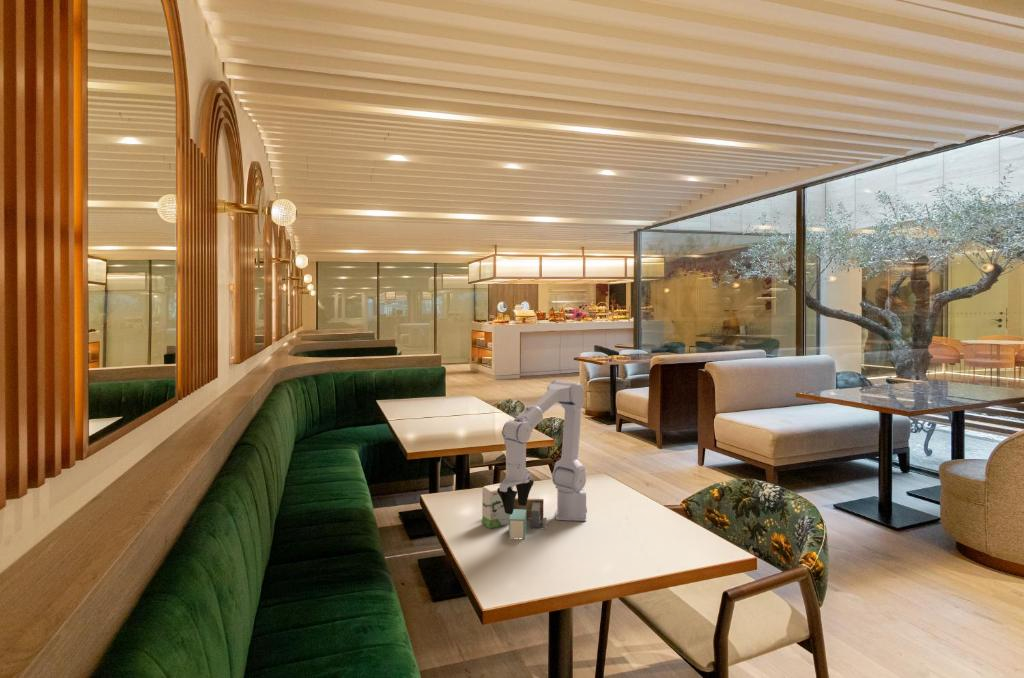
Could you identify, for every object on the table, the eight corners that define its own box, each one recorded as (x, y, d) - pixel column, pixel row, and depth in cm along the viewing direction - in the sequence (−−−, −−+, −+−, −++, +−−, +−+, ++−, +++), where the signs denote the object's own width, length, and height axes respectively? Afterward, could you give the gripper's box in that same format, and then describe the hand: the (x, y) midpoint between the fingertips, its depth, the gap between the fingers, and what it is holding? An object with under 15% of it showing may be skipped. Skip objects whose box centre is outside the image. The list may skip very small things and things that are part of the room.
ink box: (489, 529, 177) (489, 491, 176) (481, 523, 181) (481, 486, 180) (513, 523, 182) (513, 486, 181) (504, 517, 186) (504, 481, 185)
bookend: (546, 519, 185) (546, 502, 184) (545, 529, 177) (545, 511, 177) (532, 518, 185) (532, 501, 185) (531, 528, 177) (531, 510, 177)
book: (526, 528, 177) (526, 509, 177) (524, 539, 170) (524, 519, 169) (511, 528, 178) (511, 509, 177) (509, 539, 170) (509, 519, 170)
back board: (543, 517, 186) (543, 499, 186) (543, 518, 185) (543, 500, 185) (490, 515, 188) (490, 497, 187) (490, 516, 187) (490, 498, 186)
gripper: (515, 471, 158) (514, 520, 159) (540, 458, 170) (540, 504, 171) (493, 467, 162) (493, 515, 162) (519, 455, 174) (519, 499, 175)
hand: (515, 509), depth 167 cm, fingers open, 7 cm apart
